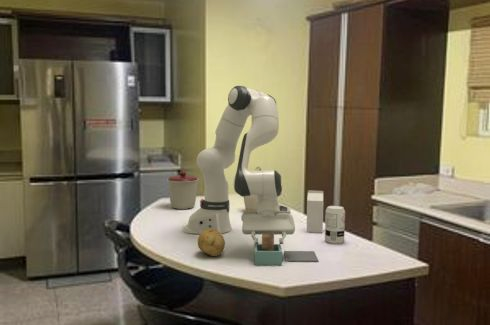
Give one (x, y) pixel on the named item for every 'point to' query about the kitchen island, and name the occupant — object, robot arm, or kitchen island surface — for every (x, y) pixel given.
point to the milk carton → (315, 211)
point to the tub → (267, 255)
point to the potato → (211, 242)
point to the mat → (300, 256)
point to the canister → (182, 190)
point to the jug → (251, 200)
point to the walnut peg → (267, 242)
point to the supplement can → (334, 224)
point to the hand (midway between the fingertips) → (268, 243)
